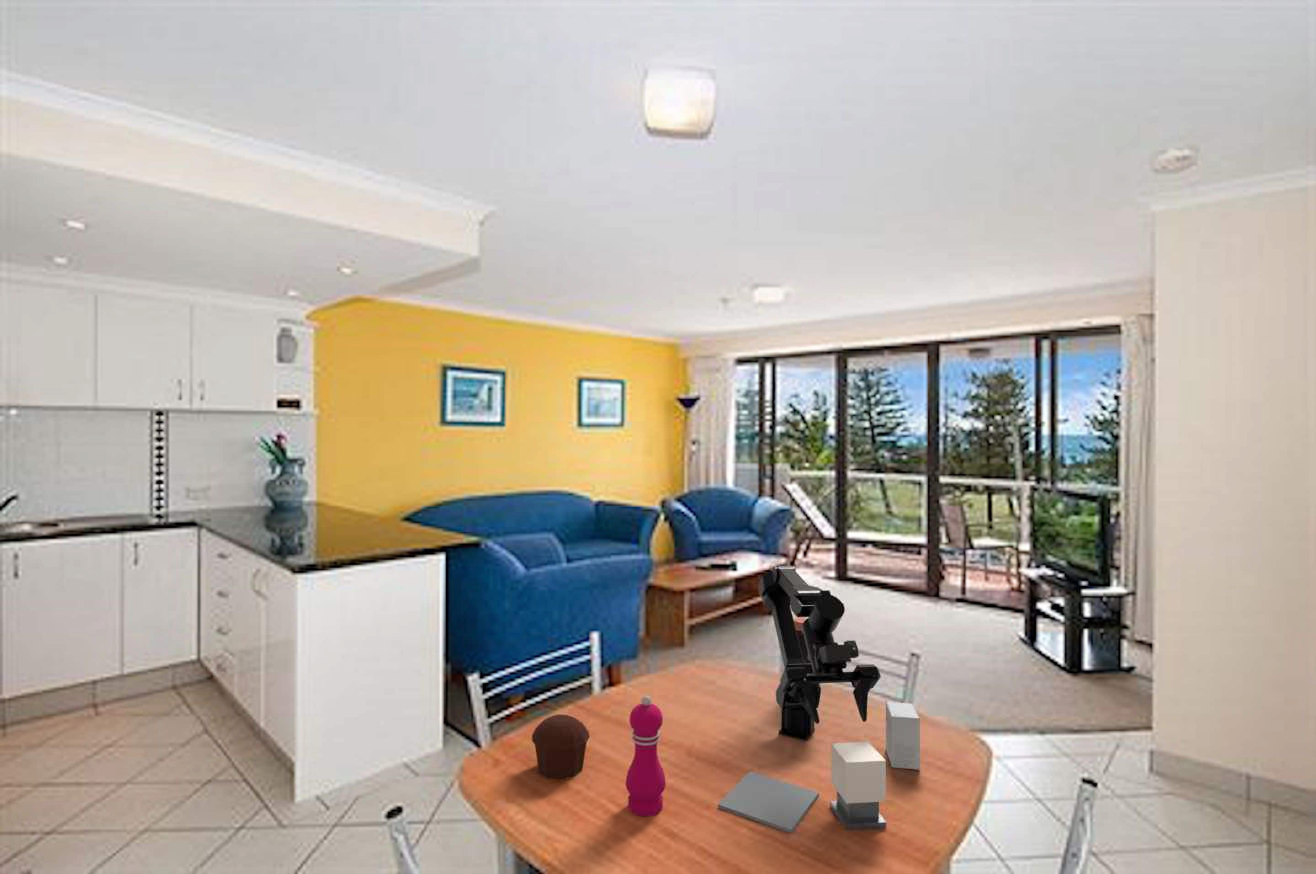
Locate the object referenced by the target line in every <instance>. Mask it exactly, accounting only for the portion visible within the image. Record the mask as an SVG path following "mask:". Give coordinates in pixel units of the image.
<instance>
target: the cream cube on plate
mask: <svg viewBox="0 0 1316 874" xmlns="http://www.w3.org/2000/svg"><path fill="white" fill-rule="evenodd" d="M830 744H831V745H830V746H831V747H830V749H831V750H830V754H831V755H830V783H831V784H832V786H833V787H834V788H835V790H836V792H837V791H838V793H839V794H840V795H841V797H842V798H843V800H844V801H845V802H846V804H848V803H866V802H879V803H881V802H886V795H887V794H886V793H887V792H886V789H887V787H886V779H887V778H886V777H887V776H886V775H887V774H886V771H887V763H886V759H885V758H884V757H883V756H882V755H881V754H880V753H879V752H878V750H876V748H875V747H874V746H873V745H872V744H871V743H870V742H869V741H858V742H857V741H854V742H853V741H852V742H835V743H834V742H832V743H830Z"/></svg>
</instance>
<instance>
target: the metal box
mask: <svg viewBox="0 0 1316 874" xmlns="http://www.w3.org/2000/svg"><path fill="white" fill-rule="evenodd" d="M829 807H830V809H831V810H832V812H833V813H834V815H835V816H836V817H837V819H838V821H839V823H840V824H841V825H842V827H843V828H844V829H845V830H844V831H858V830H859V831H860V830H861V831H862V830H875V829H886V828H887V821H886V820H885V819H884V818H883V816H882V815H881V814H880V802H866V803H848V804H846V802H845V801H844V800H843V798H842V797H841V795H840V794H839V793H838V791H837V790H836V800H830V801H829Z"/></svg>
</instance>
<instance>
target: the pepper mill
mask: <svg viewBox="0 0 1316 874" xmlns="http://www.w3.org/2000/svg"><path fill="white" fill-rule="evenodd" d="M640 701H641V703H638V704H637V705H635V706H634V707H633V709H632V710H631V712H630V715H629V724H630V727H631V728H632V732H631V734H632V737H631V740H632V742H633V743H634V755H633V758H632V762H631V764H630V766H629V767H628V770H627V774H626V778H625V788H626V791H628V796H627V801H628V802H627V807H628V810H629V812H631V813H632V814H634V815H635V816H640V817H650V816H655V815H658V814H659V813H660V812H661V811H662V809H663V807H664V796H663V793H664V791H665V789H666V784H667V783H666V776H665V772H664V769H663V766H662V765H661V763H660V759H659V756H658V749H657V748H658V743H659V742H660V739H661V737H660V736H661V735H660V734H661V732H660V729H661V727H662V725H663V722H664V718H663V713H662V711H661V709H660V708H659V707H658V706H657V705H655V704H653V703H652V698H651V697H650V696H649V695H643V696H642V698H641V700H640Z"/></svg>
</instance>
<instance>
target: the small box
mask: <svg viewBox="0 0 1316 874" xmlns="http://www.w3.org/2000/svg"><path fill="white" fill-rule="evenodd" d="M920 719H921V718H920V716H919V715H918V713H917V711H916V709H915V707H914V704H913V703H908V702H904V703H903V702H893V701H886V702H885V751H886V753H887V757H888V760H889V763H890V765H891V766H890V767H891V768H897V769H908V770H916V771H918V770H919V771H920V769H921V757H920V755H921V752H920V751H921V742H920V741H921V734H920V733H921V732H920V731H921V730H920V728H921V726H920V725H921V723H920V722H921V720H920Z"/></svg>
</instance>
